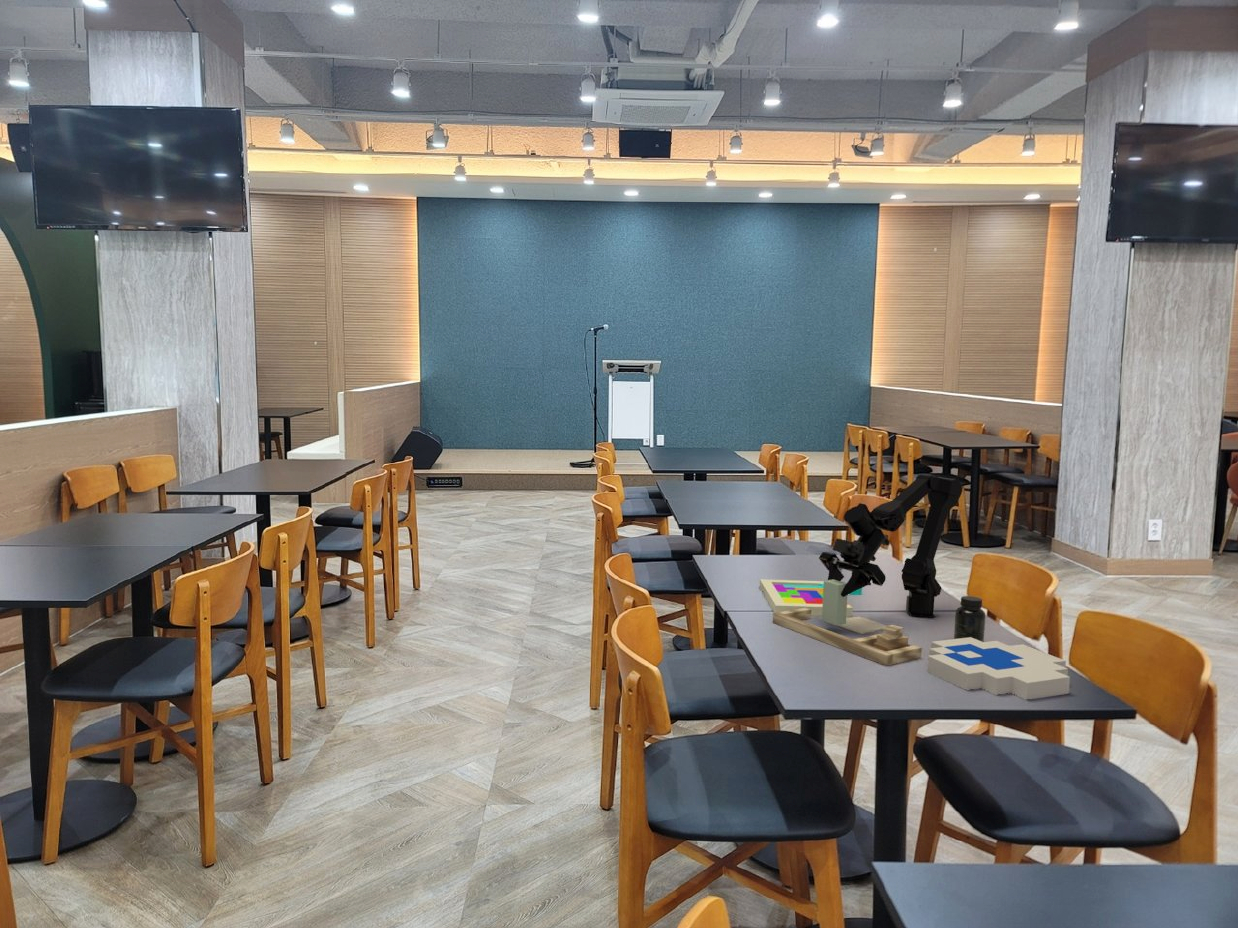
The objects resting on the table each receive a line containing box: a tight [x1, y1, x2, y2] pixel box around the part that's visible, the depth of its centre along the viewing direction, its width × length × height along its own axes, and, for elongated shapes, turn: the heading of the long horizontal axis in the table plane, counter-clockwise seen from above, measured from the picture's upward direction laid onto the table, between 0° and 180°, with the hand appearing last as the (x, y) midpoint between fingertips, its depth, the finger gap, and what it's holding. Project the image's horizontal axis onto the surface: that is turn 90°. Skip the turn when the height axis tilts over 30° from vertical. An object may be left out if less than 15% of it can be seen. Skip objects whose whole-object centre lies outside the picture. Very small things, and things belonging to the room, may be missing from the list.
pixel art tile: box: [926, 637, 1071, 700], centre depth 189 cm, size 28×4×28 cm
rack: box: [772, 608, 922, 667], centre depth 211 cm, size 12×38×2 cm, turn 32°
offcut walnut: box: [873, 643, 911, 651], centre depth 202 cm, size 7×5×2 cm
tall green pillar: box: [821, 579, 848, 626], centre depth 217 cm, size 4×5×10 cm
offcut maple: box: [882, 624, 904, 639], centre depth 202 cm, size 4×3×2 cm
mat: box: [836, 615, 888, 635], centre depth 223 cm, size 11×11×1 cm
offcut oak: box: [876, 633, 909, 648], centre depth 202 cm, size 6×4×2 cm, turn 111°
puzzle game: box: [759, 578, 863, 618], centre depth 247 cm, size 30×3×30 cm
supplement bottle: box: [953, 595, 987, 642], centre depth 208 cm, size 7×7×12 cm
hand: (834, 593), depth 217 cm, fingers closed on tall green pillar, 5 cm apart
